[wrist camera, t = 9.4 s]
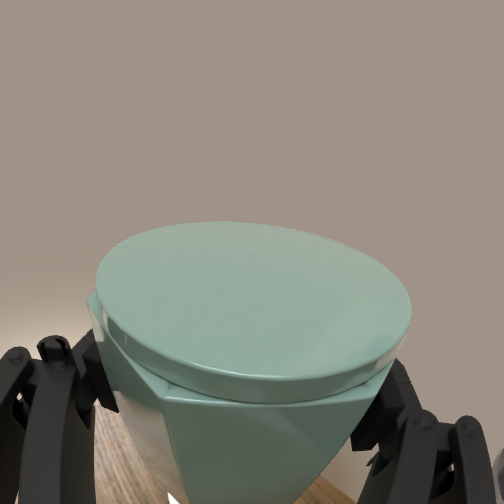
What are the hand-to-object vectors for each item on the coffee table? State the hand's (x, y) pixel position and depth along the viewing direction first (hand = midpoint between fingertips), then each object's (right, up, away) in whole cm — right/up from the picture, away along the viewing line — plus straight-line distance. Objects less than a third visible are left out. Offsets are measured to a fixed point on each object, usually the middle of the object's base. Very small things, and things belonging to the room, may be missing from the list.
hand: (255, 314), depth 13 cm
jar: (-1, -7, -3) cm, 7 cm away
